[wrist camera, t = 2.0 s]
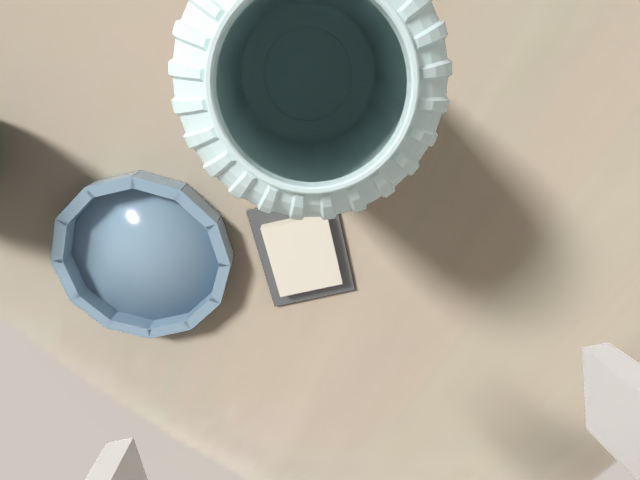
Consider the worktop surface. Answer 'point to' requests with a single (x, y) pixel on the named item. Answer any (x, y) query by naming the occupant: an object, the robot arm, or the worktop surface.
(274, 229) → the mat with cloth
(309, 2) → the vase
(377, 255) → the worktop surface
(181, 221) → the dish
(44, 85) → the worktop surface
